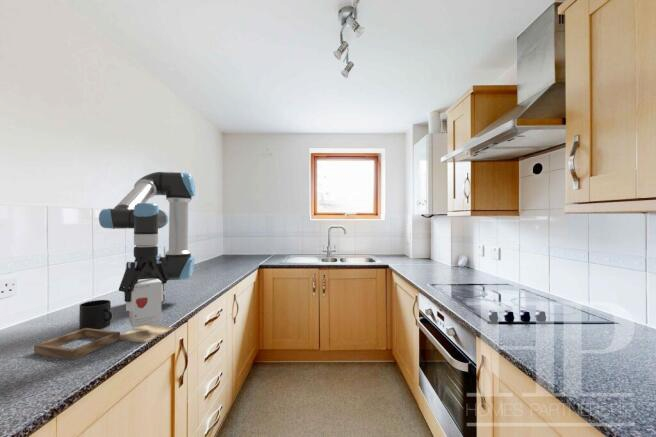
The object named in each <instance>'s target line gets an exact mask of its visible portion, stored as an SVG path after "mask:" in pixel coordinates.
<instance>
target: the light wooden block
mask: <svg viewBox="0 0 656 437" xmlns="http://www.w3.org/2000/svg"><path fill="white" fill-rule="evenodd" d="M174 329H175V327H173V326H163V325H155V324H151V325H145V326H140V327H135V328H132V329H131V330H128V331H125V332H124V333H120V339H119V340H118V341H120V340H121V341H128V342H134V343H135V342H136V343H143V344H146V343H148V342H150V341H152V340H154V339H157V338H158V337H161V336H163V335H165V334H167V333H169V332H171V331H173V330H174Z"/></svg>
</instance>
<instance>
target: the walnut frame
mask: <svg viewBox="0 0 656 437" xmlns="http://www.w3.org/2000/svg"><path fill="white" fill-rule="evenodd" d="M120 335H121V332H120V331H113V330H105V329H91V328H83V329H81V330H80V329H78V330H76V331H72V332H69V333H67V334H64V335H61V336H57V337H55V338H51V339H50V340H46V341H44V342H41V343H40V342H39V343H38V344H34V345H33V354H35V355H39V356H46V357H53V358H59V359H64V360H72V361H73V360H75V359H78V358H80V357H82V356H85V355H87V354H89V353H91V352H94V351H96V350H99V349H101V348H103V347H106V346H107V345H110V344H113V343H115V342H118V341H120V340H119V339H120ZM84 337H86V338H92V339H93V338H94V339H96V340H93V341H90V342H88V343H85V344H83V345H80V346H78V347H76V348H67V347H61V346H63V345H65V344H68V343H71V342H73V341H77V340H79V339H81V338H84Z"/></svg>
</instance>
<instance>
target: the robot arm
mask: <svg viewBox="0 0 656 437" xmlns="http://www.w3.org/2000/svg"><path fill="white" fill-rule="evenodd" d="M195 195H196V185H195V181H194V178H193V176H192V174H190V173H187V172H173V171H170V172H168V171H166V172H165V171H164V172H163V171H158V172H152V173H148V174H146V175H144V176H142V177H140V178H139V179H138V180H136V182H135V183H134V185H133V188H132V189H131V190H130V191H129V192H128V193H127V194H126V196H125V197H124V198H122V199H121V200H120V202H119V203H118V204H116V205H115V207H113V208H104V209H101V210H100V212H99V214H98V221H99V225H100V227H101V228H103V229H113V230H114V229H119V230H121V229H122V230H123V229H126V230H127V229H133V246H134V247H133V257H134V260H133V261H126V264H125V267H126V268H125V272H124V273H123V276H122V279H121V281H120V284H119V287H118V291H119V292H122V293H124V302H125V312H129V311H134V292H132V290H133V289H134V287H135V284H136V283H137V282H138V280H141V279H151V278H158V279H159V280H160V281H162V302H161V304H162V303H163V302H165V300H166V295H165V294H164V291H165V284H167V282H168V281H182V280H183V281H184V280H188V279H191V276H192V274H193V272H194V267H195V256H192V252H191V251H190V250H188V248H189V247H188V246H189V245H188V244H189V242H188V241H189V203H190V202H191V201H192V198H193V197H194V196H195ZM155 196H165V199H166V200H167V201H168V202H169V207H168V209H169V212H168V214H169V215H168V214H167V212H165V211H164V210H161V209H159V205H158V204H157V203H153V202H152V203H151V202H148V201H149V199H151V198H153V197H155ZM167 224H168V250H167V251H166V252H165V254H164V256H162V254H161V253H159V247H158V244H159V230H160V229H163V228H164V227H165V226H166V225H167Z"/></svg>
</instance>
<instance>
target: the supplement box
mask: <svg viewBox="0 0 656 437" xmlns="http://www.w3.org/2000/svg"><path fill="white" fill-rule="evenodd" d="M132 292H134V311H128V312H129V315H128V316H129V318H128V322H129V323H130V326H131V328H132V329H135V328H138V327H140V326H145V325H155V324H161V323H162V303H163V302H162V281H160V280H159V279H158V278H151V279H141V280H138V282H137V283H136V284H135V287H134V289H133V290H132ZM161 302H162V303H161Z"/></svg>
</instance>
